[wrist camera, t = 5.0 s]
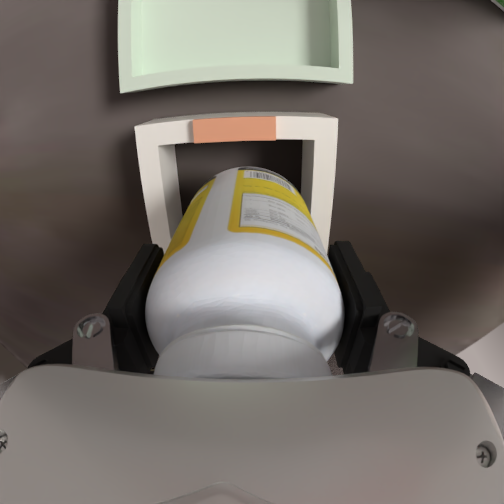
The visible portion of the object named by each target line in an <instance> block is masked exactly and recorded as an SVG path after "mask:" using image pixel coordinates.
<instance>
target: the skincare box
mask: <svg viewBox="0 0 504 504" xmlns="http://www.w3.org/2000/svg"><path fill="white" fill-rule="evenodd" d="M491 1H492V2H493V3H494V4H496V5H497V6H498V7H499V8H500V9H502V10H503V11H504V0H491Z"/></svg>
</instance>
